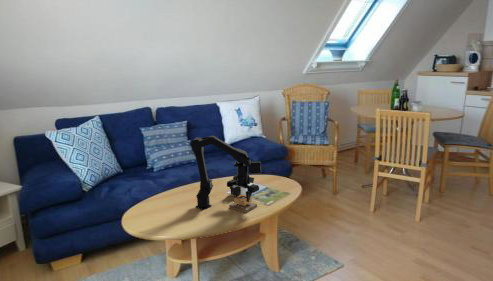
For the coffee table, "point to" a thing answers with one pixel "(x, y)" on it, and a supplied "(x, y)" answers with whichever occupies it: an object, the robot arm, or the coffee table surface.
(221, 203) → the coffee table surface
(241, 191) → the medicine bottle
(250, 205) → the keeper plate
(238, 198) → the brown hollow square block
